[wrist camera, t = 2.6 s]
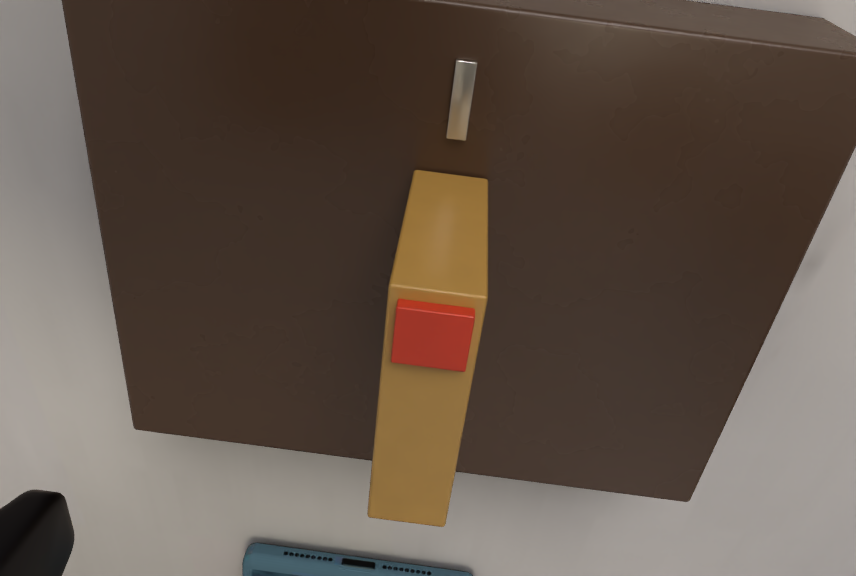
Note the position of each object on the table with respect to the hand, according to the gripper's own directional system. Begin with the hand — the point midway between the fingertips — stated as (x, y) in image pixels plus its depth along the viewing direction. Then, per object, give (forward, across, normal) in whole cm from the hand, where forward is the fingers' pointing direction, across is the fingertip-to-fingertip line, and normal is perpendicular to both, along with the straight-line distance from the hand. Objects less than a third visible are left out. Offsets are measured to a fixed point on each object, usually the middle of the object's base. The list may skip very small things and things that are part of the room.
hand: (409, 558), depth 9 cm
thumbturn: (+6, 0, 0) cm, 6 cm away
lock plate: (+10, 0, 0) cm, 10 cm away
